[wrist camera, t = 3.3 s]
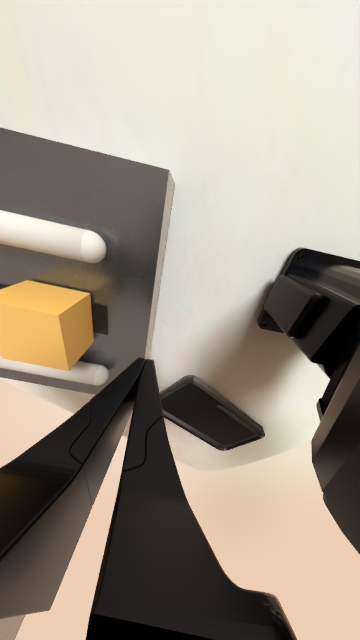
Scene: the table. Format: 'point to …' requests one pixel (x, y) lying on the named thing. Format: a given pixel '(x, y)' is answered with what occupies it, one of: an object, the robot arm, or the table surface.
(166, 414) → the phone
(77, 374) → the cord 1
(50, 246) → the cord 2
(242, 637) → the robot arm
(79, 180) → the panel
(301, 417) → the table surface
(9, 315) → the block
